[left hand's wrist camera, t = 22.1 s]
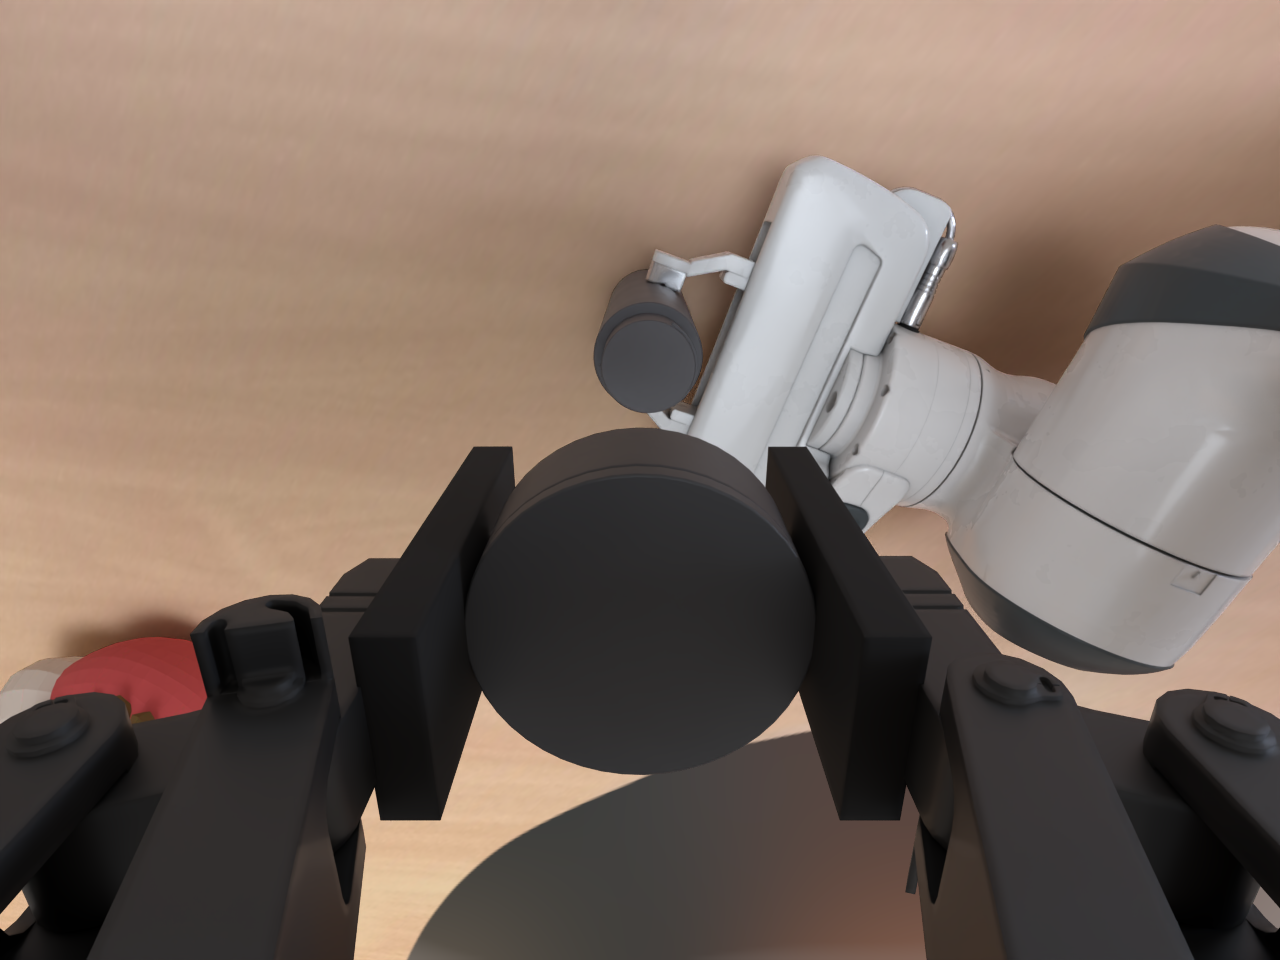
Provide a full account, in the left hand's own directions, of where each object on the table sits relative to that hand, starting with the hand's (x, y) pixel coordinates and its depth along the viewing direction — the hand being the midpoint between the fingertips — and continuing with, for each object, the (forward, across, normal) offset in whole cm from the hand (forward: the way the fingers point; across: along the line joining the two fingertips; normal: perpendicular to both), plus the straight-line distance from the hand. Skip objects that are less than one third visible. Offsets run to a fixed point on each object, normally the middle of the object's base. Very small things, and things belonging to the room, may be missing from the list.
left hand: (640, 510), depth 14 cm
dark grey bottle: (+30, 0, 0) cm, 30 cm away
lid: (-4, 0, 0) cm, 4 cm away
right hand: (+23, 0, 0) cm, 23 cm away
